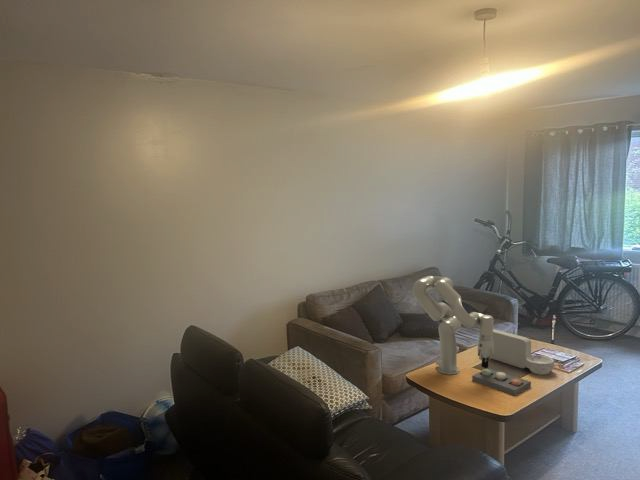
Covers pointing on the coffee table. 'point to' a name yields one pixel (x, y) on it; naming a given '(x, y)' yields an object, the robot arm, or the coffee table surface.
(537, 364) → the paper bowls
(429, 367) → the coffee table surface
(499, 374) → the cream button
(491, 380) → the console
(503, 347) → the rounded white slab
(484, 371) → the sage button
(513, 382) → the terracotta button
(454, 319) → the robot arm
